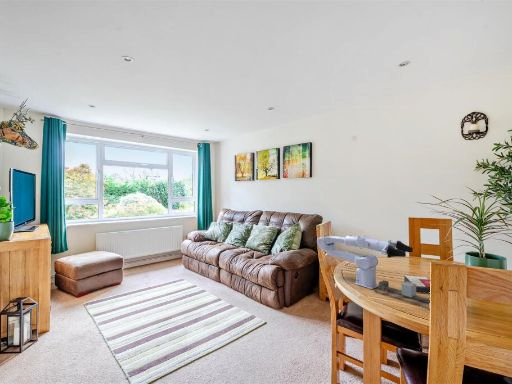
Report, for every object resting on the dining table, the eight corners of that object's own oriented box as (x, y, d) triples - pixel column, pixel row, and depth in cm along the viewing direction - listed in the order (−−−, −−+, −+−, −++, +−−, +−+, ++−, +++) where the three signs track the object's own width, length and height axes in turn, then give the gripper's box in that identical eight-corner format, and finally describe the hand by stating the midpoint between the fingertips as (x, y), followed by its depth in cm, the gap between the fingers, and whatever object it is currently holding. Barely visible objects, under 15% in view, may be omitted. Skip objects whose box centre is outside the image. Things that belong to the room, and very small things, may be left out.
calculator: (414, 285, 121) (404, 274, 135) (414, 293, 121) (404, 282, 135) (440, 287, 118) (426, 275, 132) (439, 296, 118) (426, 283, 132)
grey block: (401, 294, 113) (401, 283, 113) (406, 291, 116) (406, 281, 116) (411, 297, 110) (411, 286, 110) (416, 294, 113) (416, 283, 113)
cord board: (374, 292, 121) (374, 283, 121) (384, 287, 127) (384, 278, 127) (434, 311, 101) (434, 300, 101) (442, 304, 107) (442, 294, 107)
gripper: (372, 241, 120) (401, 248, 109) (386, 235, 129) (415, 240, 118) (372, 255, 121) (402, 263, 110) (386, 247, 129) (415, 254, 118)
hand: (409, 252), depth 114 cm, fingers open, 7 cm apart
